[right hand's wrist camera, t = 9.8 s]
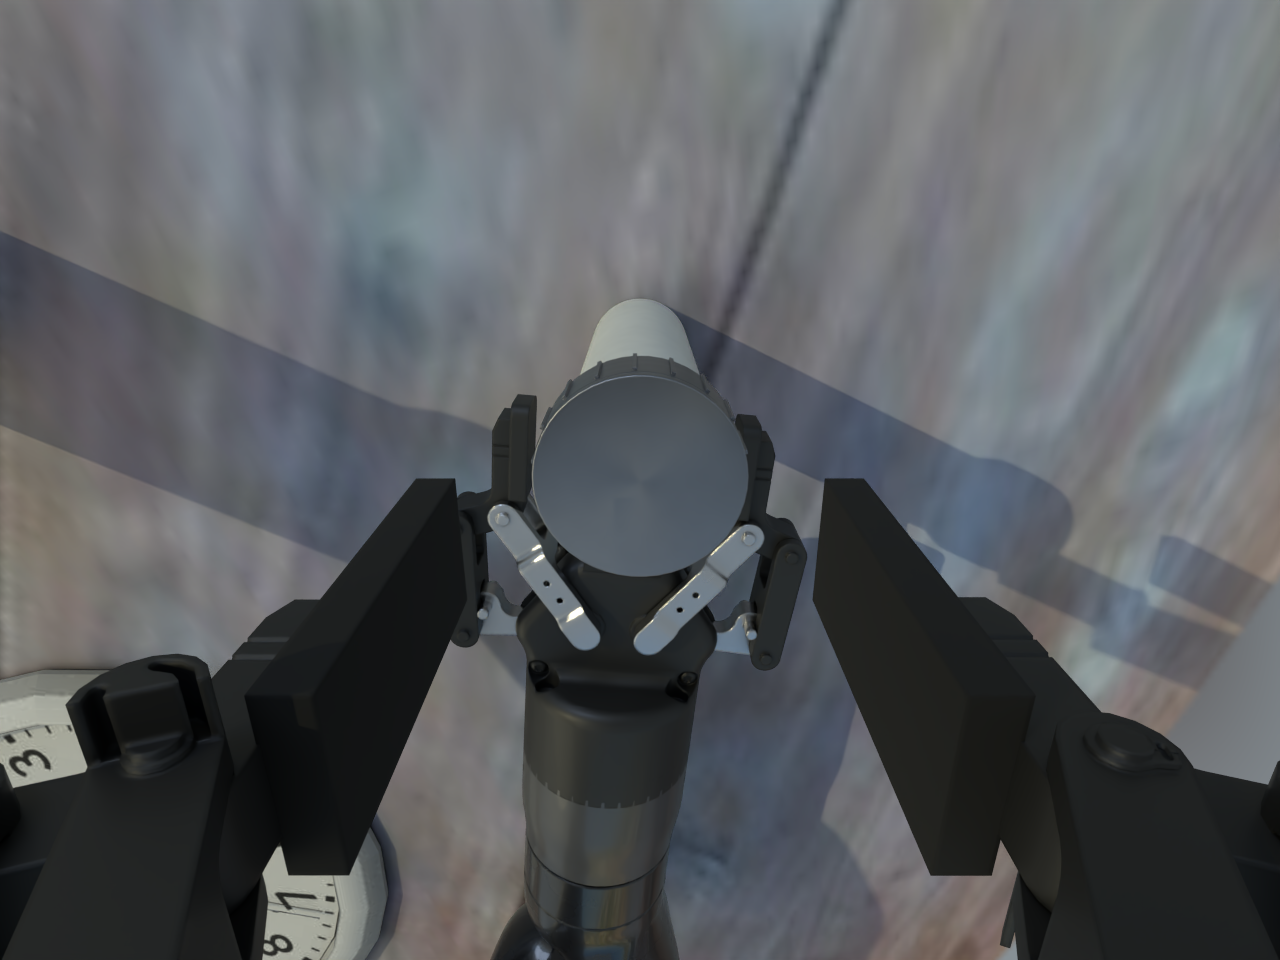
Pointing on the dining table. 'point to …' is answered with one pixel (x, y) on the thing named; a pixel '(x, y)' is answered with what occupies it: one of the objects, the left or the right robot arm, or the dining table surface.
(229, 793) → the right robot arm
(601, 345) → the off-white long cylinder
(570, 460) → the lid
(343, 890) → the wall clock
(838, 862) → the dining table surface
